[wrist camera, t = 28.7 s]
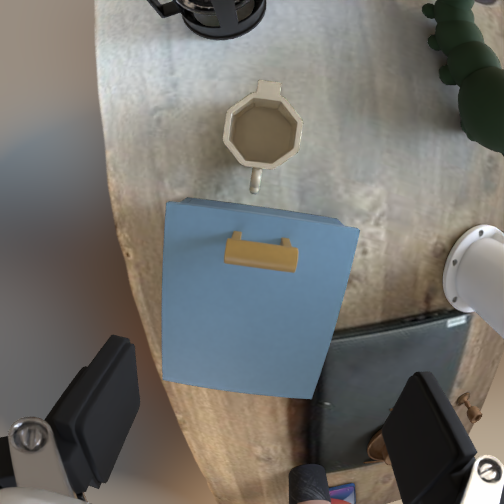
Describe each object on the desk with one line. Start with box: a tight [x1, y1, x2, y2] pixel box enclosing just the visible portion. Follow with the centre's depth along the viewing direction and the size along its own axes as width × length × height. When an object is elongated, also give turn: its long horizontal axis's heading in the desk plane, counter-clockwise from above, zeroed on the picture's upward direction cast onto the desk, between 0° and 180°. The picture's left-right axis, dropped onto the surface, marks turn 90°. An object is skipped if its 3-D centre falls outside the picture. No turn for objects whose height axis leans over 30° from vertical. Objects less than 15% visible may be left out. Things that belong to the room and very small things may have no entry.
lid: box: [162, 201, 360, 399], centre depth 27 cm, size 19×17×6 cm
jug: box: [223, 80, 303, 194], centre depth 29 cm, size 10×7×6 cm, turn 172°
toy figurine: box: [422, 0, 504, 156], centre depth 19 cm, size 9×19×25 cm
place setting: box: [364, 393, 482, 465], centre depth 43 cm, size 18×20×6 cm
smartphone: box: [329, 483, 356, 504], centre depth 53 cm, size 7×15×1 cm, turn 14°
